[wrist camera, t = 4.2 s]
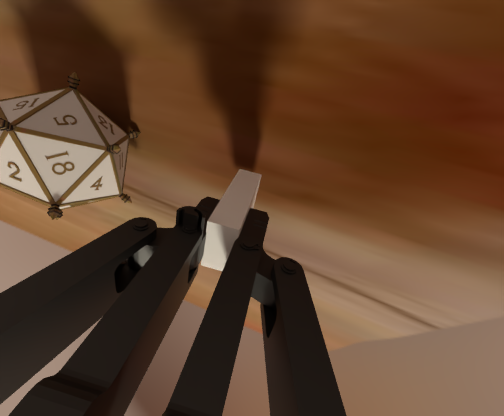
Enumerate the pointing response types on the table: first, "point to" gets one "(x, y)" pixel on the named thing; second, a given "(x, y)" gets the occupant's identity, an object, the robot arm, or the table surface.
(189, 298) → the table surface
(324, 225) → the table surface
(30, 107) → the game die
